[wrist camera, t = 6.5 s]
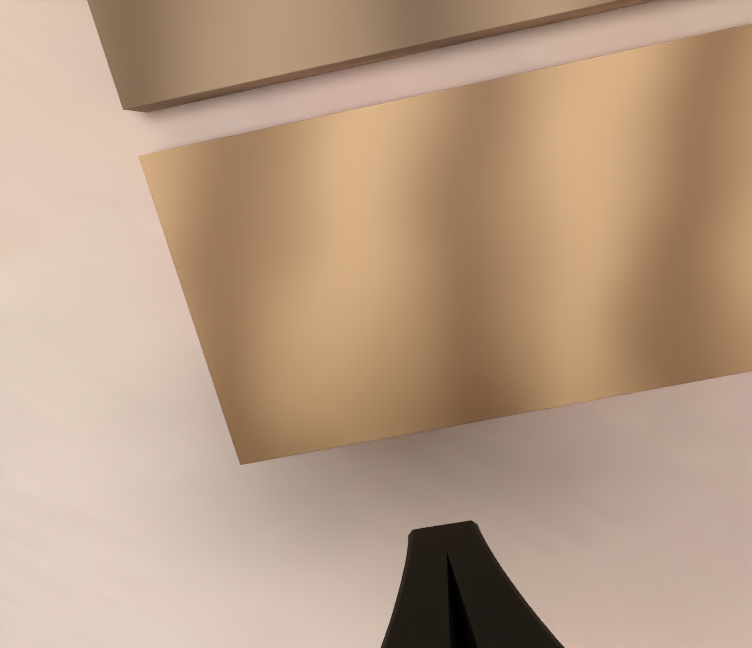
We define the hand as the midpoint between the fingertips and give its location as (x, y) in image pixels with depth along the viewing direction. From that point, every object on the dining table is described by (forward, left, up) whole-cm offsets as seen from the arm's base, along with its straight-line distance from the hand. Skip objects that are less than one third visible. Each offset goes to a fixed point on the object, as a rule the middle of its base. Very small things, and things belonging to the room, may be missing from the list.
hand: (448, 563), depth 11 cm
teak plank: (-3, -4, -8) cm, 9 cm away
